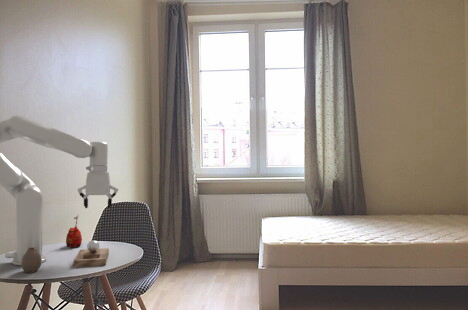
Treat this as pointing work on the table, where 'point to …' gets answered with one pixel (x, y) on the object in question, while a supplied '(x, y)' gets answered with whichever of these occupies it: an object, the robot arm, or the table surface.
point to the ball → (93, 246)
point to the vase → (31, 260)
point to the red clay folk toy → (74, 237)
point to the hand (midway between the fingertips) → (97, 207)
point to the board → (91, 258)
